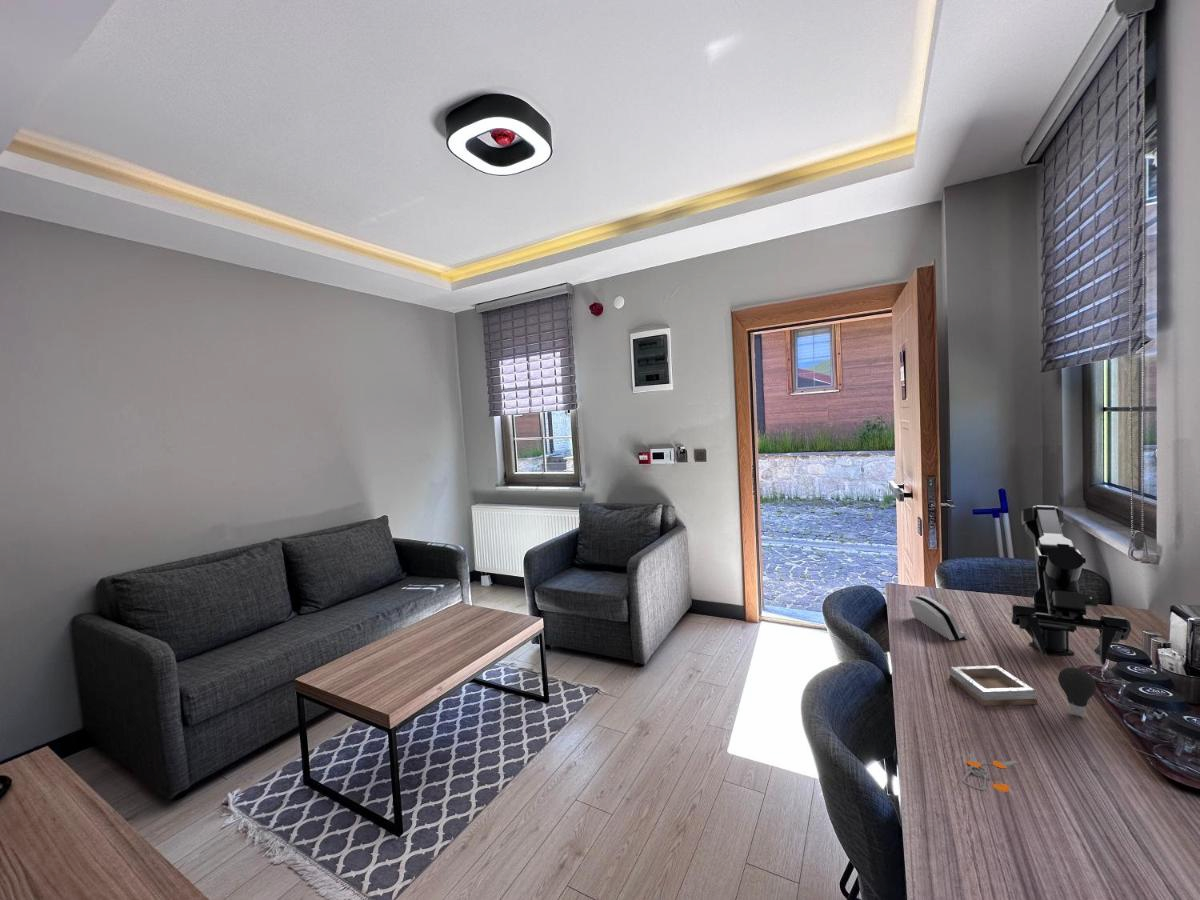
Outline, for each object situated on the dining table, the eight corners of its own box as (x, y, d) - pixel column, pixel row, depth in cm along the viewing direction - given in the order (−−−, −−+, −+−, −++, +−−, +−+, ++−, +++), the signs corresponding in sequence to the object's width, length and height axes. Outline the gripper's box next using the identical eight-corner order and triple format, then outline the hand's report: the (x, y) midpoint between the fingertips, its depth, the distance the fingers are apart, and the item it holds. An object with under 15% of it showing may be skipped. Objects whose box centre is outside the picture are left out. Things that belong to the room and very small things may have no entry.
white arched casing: (969, 640, 135) (956, 607, 135) (953, 646, 135) (939, 614, 135) (930, 616, 152) (918, 587, 152) (915, 622, 152) (904, 593, 152)
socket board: (998, 677, 116) (997, 673, 116) (1037, 704, 105) (1037, 699, 105) (949, 678, 117) (949, 674, 117) (983, 705, 106) (983, 701, 106)
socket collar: (997, 673, 116) (997, 665, 116) (1035, 699, 105) (1035, 690, 105) (950, 675, 117) (950, 667, 117) (983, 700, 106) (983, 691, 106)
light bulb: (1090, 727, 97) (1089, 678, 96) (1053, 713, 102) (1052, 667, 101) (1101, 717, 99) (1100, 670, 99) (1065, 704, 104) (1064, 659, 104)
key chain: (1007, 804, 80) (1007, 799, 80) (954, 781, 86) (954, 776, 86) (1022, 765, 88) (1021, 760, 88) (972, 746, 94) (972, 742, 94)
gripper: (1011, 569, 112) (1017, 634, 104) (1128, 580, 101) (1145, 653, 92) (1008, 592, 119) (1014, 654, 110) (1118, 604, 108) (1133, 675, 99)
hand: (1072, 658), depth 103 cm, fingers open, 9 cm apart
